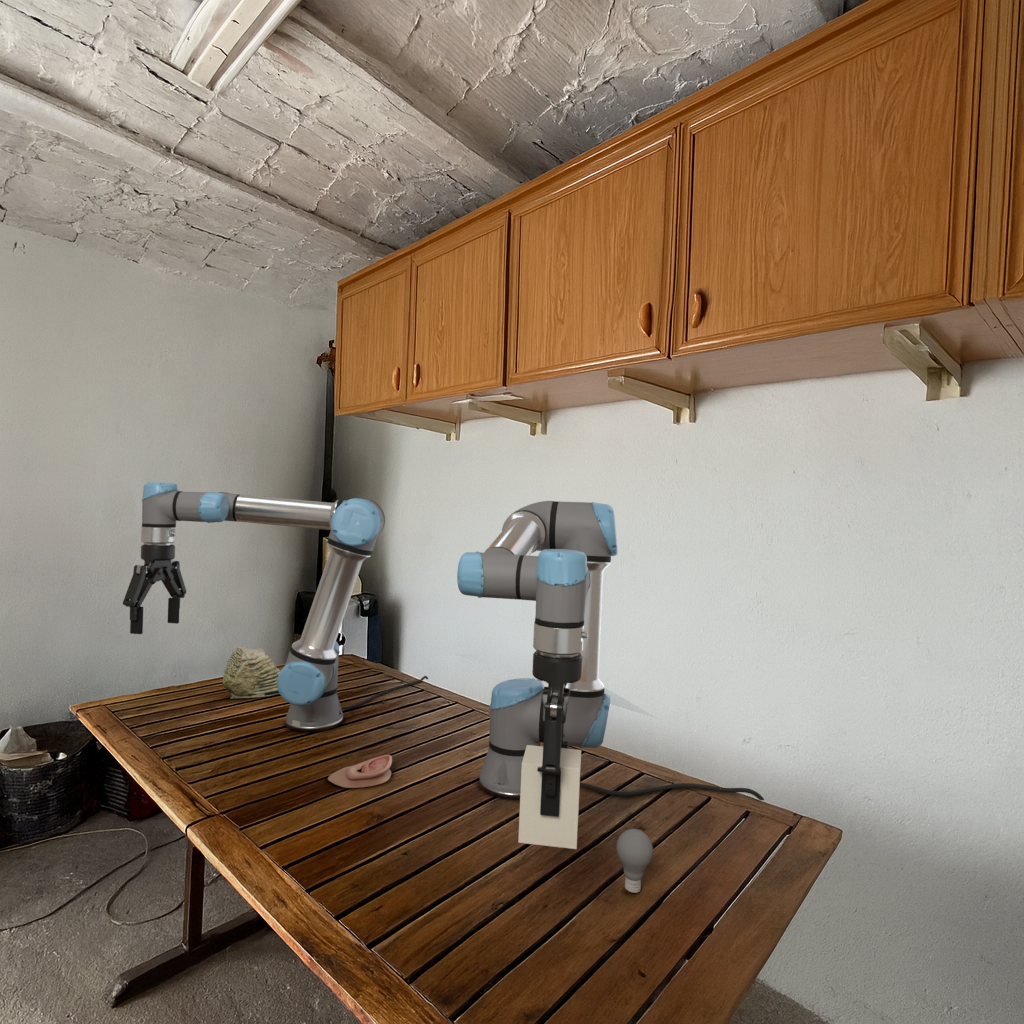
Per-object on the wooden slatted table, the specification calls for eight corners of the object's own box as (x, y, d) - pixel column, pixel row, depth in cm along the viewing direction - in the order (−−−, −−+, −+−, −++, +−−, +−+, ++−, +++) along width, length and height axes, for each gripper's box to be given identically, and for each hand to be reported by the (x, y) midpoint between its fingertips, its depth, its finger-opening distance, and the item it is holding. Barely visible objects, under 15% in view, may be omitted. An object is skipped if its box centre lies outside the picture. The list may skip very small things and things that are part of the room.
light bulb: (610, 879, 108) (613, 822, 108) (644, 879, 109) (647, 822, 109) (619, 902, 102) (622, 840, 102) (655, 901, 103) (658, 840, 103)
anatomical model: (321, 766, 139) (345, 747, 150) (320, 784, 139) (344, 763, 150) (378, 774, 136) (398, 753, 147) (377, 792, 136) (397, 770, 148)
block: (518, 842, 93) (521, 763, 93) (523, 818, 100) (526, 744, 100) (576, 849, 92) (580, 769, 92) (577, 824, 99) (581, 749, 99)
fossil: (218, 695, 195) (220, 647, 195) (278, 685, 208) (279, 640, 207) (228, 703, 189) (230, 653, 188) (289, 692, 201) (290, 645, 201)
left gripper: (136, 548, 146) (133, 639, 146) (202, 541, 171) (199, 620, 171) (107, 546, 147) (104, 637, 147) (176, 540, 172) (174, 618, 172)
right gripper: (581, 671, 85) (574, 839, 86) (584, 639, 105) (577, 776, 106) (526, 667, 86) (519, 833, 87) (539, 636, 106) (533, 771, 107)
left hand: (155, 628), depth 159 cm, fingers open, 13 cm apart
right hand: (551, 801), depth 96 cm, fingers closed on block, 7 cm apart
